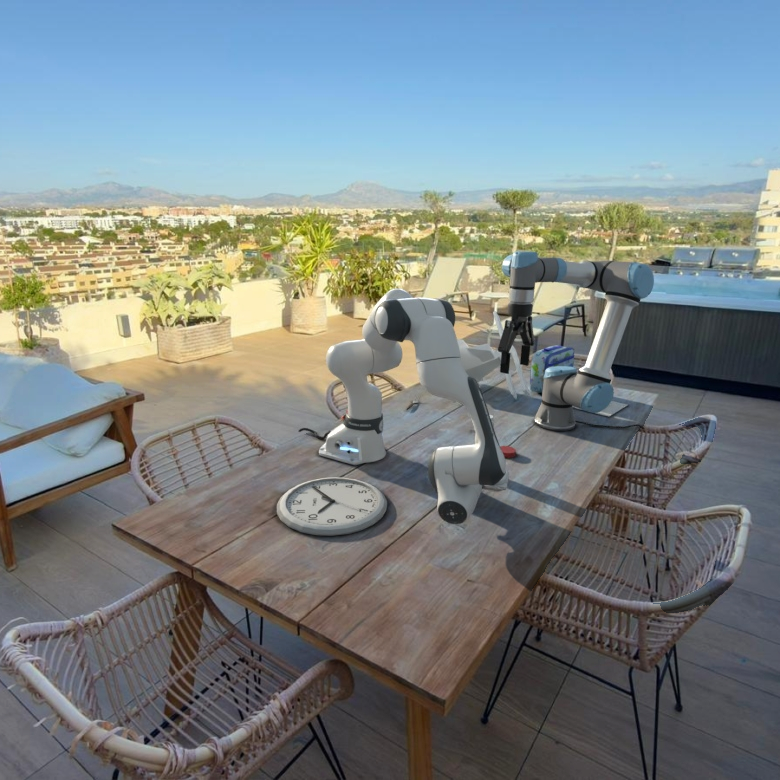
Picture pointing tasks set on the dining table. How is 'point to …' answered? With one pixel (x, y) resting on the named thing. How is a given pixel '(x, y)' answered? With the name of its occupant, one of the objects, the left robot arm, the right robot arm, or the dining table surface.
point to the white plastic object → (489, 360)
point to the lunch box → (548, 363)
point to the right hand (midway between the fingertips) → (514, 368)
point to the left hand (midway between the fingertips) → (475, 462)
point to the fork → (413, 402)
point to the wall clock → (331, 506)
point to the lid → (508, 451)
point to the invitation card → (611, 408)
